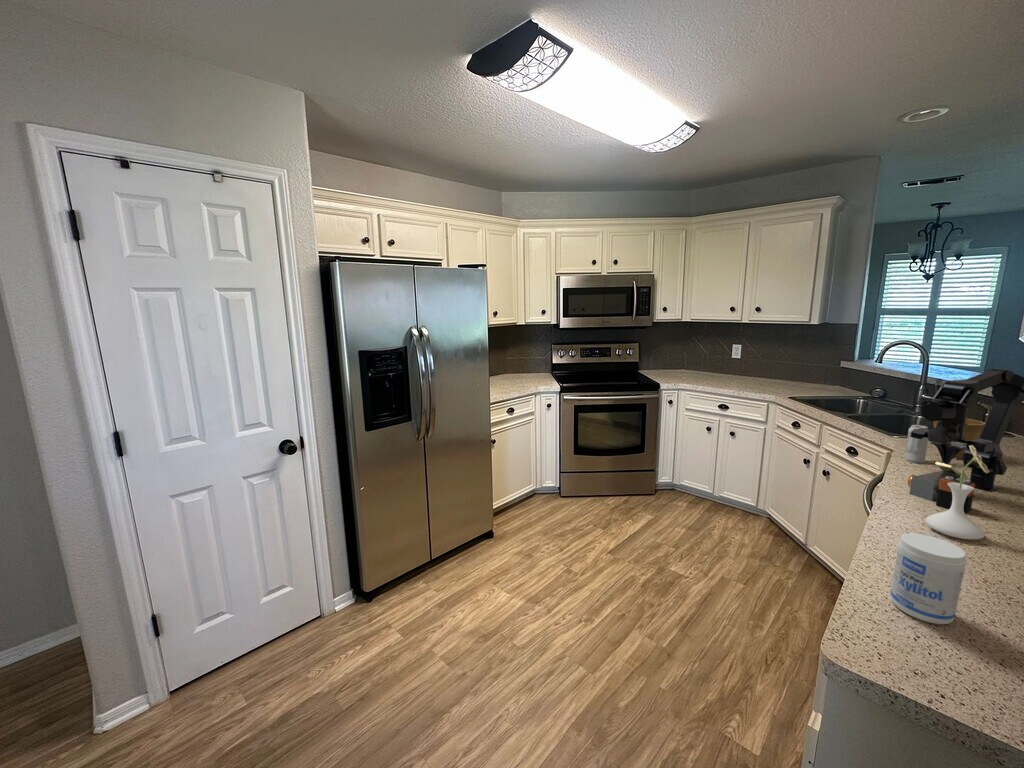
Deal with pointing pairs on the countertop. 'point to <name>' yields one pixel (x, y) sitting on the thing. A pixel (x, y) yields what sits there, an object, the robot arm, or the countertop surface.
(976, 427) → the plant pot
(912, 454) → the energy drink can
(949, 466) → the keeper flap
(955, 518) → the flower in vase
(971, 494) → the battery
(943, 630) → the countertop surface
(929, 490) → the drawbar block
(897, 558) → the supplement tub
